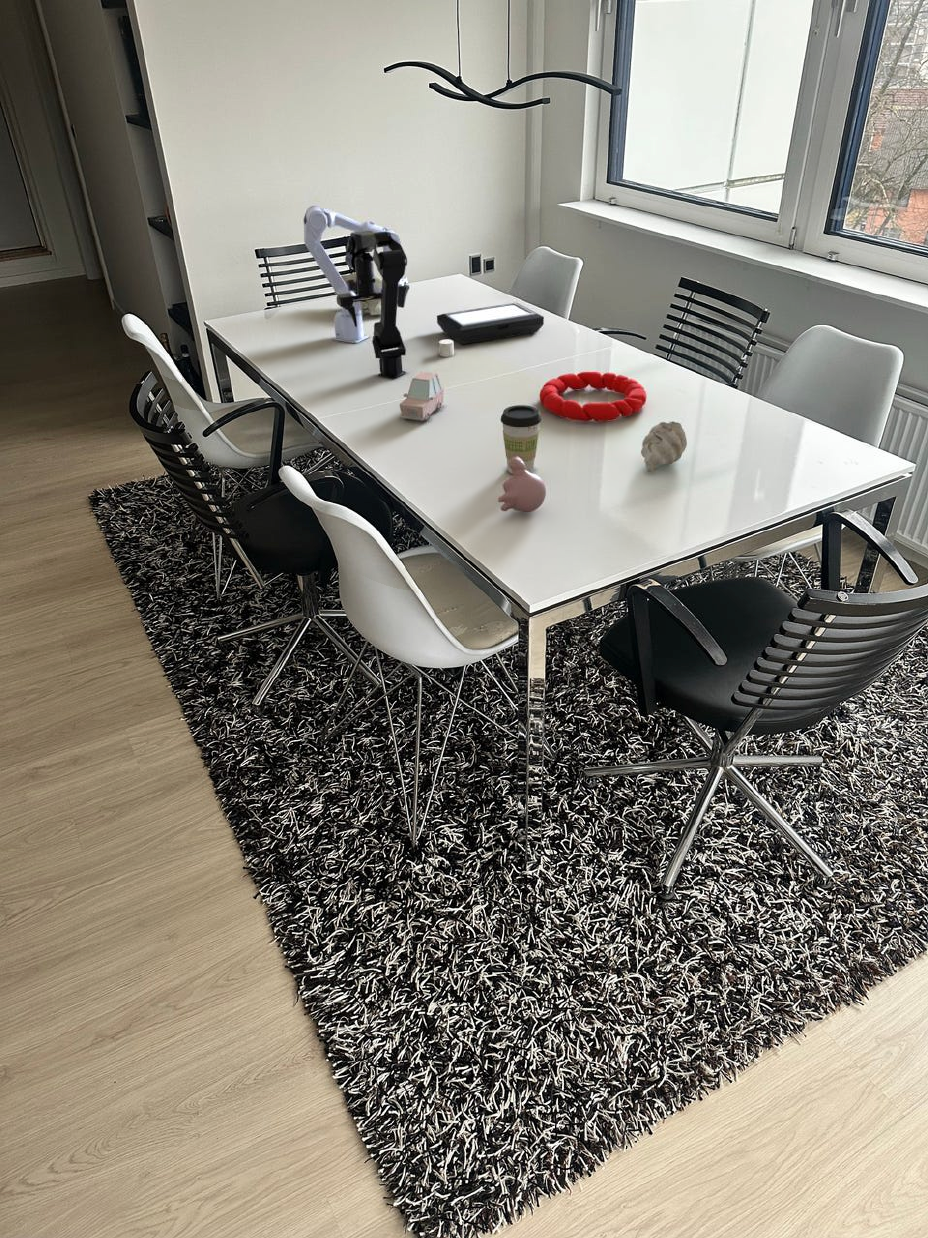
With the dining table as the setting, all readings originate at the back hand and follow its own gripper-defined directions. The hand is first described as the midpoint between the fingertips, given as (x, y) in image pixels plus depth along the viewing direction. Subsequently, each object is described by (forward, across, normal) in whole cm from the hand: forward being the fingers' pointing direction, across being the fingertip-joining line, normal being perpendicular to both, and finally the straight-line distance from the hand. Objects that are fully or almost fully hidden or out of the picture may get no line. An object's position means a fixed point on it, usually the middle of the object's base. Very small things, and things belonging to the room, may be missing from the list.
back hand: (395, 309), depth 310 cm
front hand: (-2, -25, -8) cm, 27 cm away
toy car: (+9, -59, -49) cm, 77 cm away
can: (+8, -11, -27) cm, 31 cm away
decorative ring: (+8, -31, -89) cm, 94 cm away
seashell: (+8, -60, -120) cm, 134 cm away
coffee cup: (+8, -79, -91) cm, 120 cm away
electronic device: (+8, +16, -29) cm, 34 cm away
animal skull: (+9, +20, +28) cm, 35 cm away
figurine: (+9, -98, -101) cm, 141 cm away
